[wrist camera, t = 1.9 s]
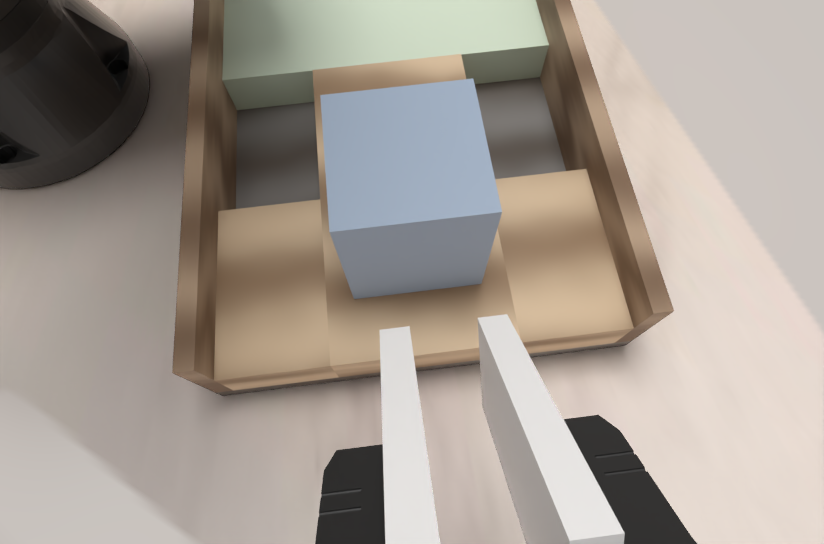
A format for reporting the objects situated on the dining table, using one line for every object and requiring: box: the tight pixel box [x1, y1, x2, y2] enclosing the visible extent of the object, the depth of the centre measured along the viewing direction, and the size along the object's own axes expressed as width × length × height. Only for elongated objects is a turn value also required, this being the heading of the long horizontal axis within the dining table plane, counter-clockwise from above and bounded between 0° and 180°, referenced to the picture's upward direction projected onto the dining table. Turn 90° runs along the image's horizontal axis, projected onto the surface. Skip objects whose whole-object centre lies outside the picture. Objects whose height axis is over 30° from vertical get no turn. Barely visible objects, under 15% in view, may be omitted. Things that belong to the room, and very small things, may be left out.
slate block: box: [320, 79, 502, 299], centre depth 26 cm, size 7×7×8 cm
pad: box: [222, 0, 549, 110], centre depth 38 cm, size 10×22×3 cm, turn 97°
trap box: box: [172, 0, 674, 396], centre depth 33 cm, size 30×24×6 cm
